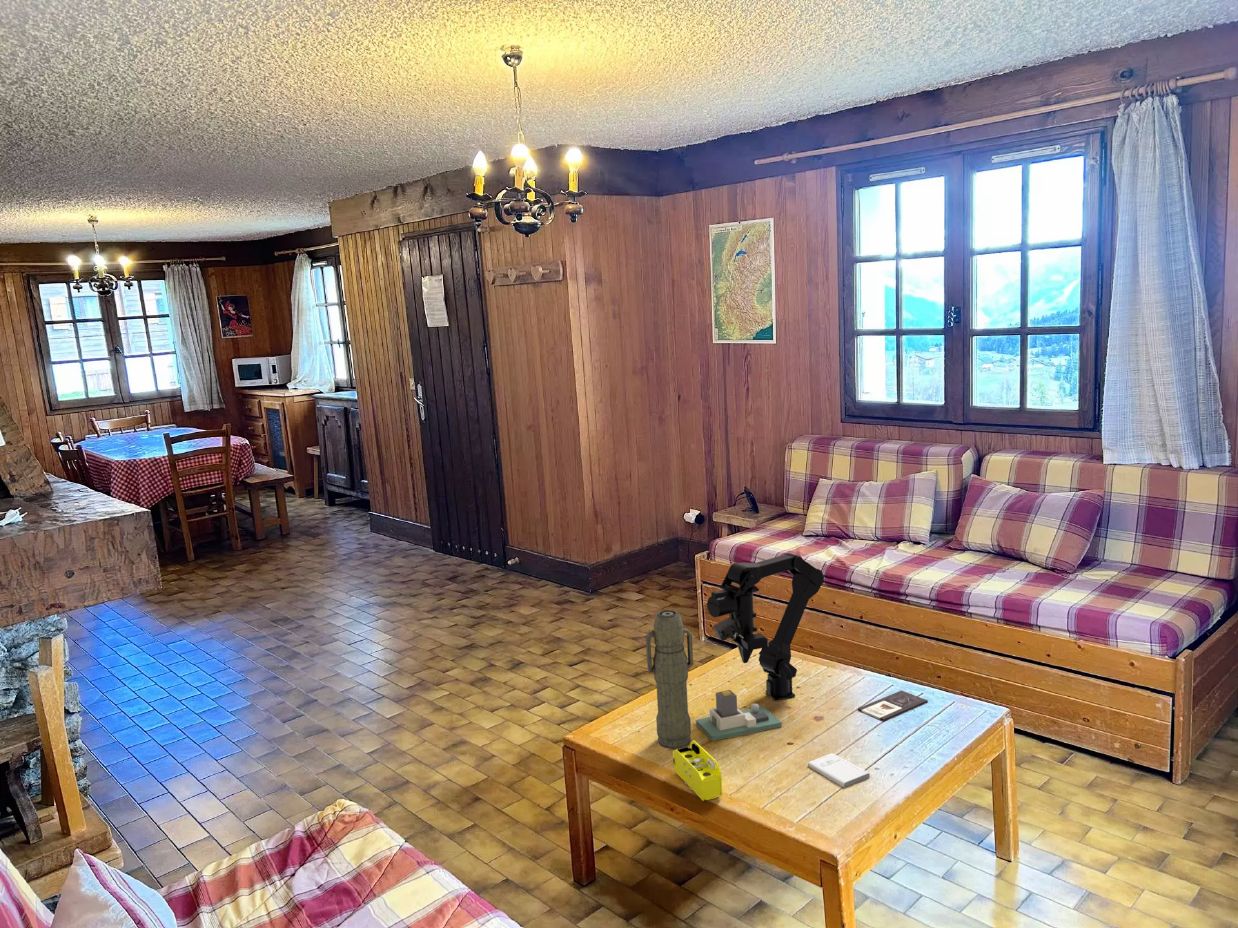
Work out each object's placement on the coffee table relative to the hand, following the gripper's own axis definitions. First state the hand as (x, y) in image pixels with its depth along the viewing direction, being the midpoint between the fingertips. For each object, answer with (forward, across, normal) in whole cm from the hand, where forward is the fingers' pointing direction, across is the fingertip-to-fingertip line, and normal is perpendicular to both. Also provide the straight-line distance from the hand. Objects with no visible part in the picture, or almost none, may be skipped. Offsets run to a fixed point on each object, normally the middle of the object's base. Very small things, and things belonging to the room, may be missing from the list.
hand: (745, 662), depth 254 cm
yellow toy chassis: (+14, +34, -29) cm, 46 cm away
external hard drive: (+14, +42, +4) cm, 44 cm away
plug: (+12, +9, -10) cm, 18 cm away
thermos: (+13, +11, -26) cm, 31 cm away
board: (+13, +10, -7) cm, 18 cm away
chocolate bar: (+14, +17, +36) cm, 42 cm away
